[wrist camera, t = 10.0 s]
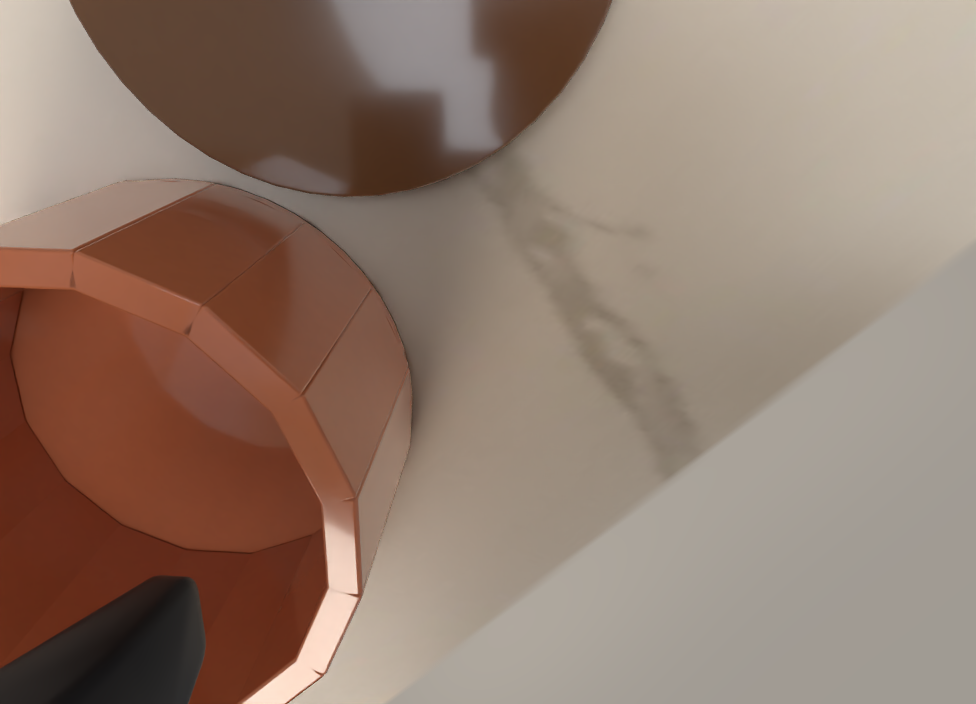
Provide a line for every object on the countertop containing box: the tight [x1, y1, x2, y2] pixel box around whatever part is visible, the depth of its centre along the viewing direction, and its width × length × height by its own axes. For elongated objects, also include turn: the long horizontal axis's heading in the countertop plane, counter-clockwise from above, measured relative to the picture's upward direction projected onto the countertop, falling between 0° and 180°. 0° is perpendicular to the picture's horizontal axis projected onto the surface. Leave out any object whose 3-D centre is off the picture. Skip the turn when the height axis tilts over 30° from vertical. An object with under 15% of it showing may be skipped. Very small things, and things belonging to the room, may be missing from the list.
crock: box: [0, 179, 413, 704], centre depth 18 cm, size 11×11×6 cm
